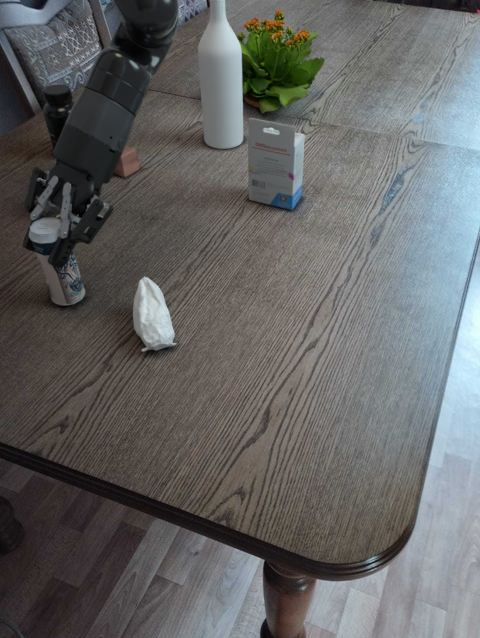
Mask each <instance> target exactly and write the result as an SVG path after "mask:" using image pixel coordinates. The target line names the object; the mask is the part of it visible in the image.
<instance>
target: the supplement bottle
mask: <svg viewBox="0 0 480 638" xmlns="http://www.w3.org/2000/svg"><path fill="white" fill-rule="evenodd" d="M42 91H43V96H44V100H45V104H44V106H43V108H42V113H43V118H44V120H45V124H46V128H47V131H48V135H49V138H50V142H51V146H52V149H53V151H54V148H55V146H56V144H57V141H58V139H59V137H60V135H61V132H62V130H63V127H64V125H65V123H66V120H67V118H68V116H69V113H70V111H71V109H72V107H73V104H74V102H75V101H76V100H74V97H73V96H74V95H73V94H72V90H71V87H70V86H69V85H67V84H62V83H59V84H58V83H55V84H51V85H48V86H46V87H44V88H43V90H42Z"/></svg>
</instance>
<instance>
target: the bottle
mask: <svg viewBox="0 0 480 638" xmlns="http://www.w3.org/2000/svg"><path fill="white" fill-rule="evenodd" d="M197 59H198V73H199V75H198V76H199V88H200V89H199V90H200V100H201V102H200V103H201V114H202V127H203V128H202V129H203V140H204V143H205V144H206V145H207V146H209V147H211V148H214V149H220V150H228V149H232V148H237V147H238V146H240V145H241V144H242V143H243V142H244V103H243V101H244V95H243V88H242V52H241V45H240V43H239V41H238V39H237V34H235V32H234V30H233V28H232V26H231V25H230V23H229V21H228V19H227V10H226V0H209V21H208V23H207V26H206V27H205V29H204V31H203V33H202V35H201V38H200V41H199V42H198V46H197Z"/></svg>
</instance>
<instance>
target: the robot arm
mask: <svg viewBox="0 0 480 638" xmlns="http://www.w3.org/2000/svg"><path fill="white" fill-rule="evenodd" d="M113 2H114V4H115V7H116V8H117V10H118V12H119V13H120V18H119V22H118V25H117V27H116V29H115V32H114V33H113V35H112V38H111V40H110V42H109V44H108V46H107V47H104V48H103V49H101V50H100V51H99V53H98V54H97V56H96V58H95V60H94V62H93V64H92V66H91V68H90V70H89V73H88V74H87V77H86V79H85V81H84V85H83V87H82V89H81V91H80V93H79V94H78V96H77V97H76V99H75V100H74V101H75V102H74V104H73V107H72V109H71V111H70V113H69V116H68V118H67V120H66V123H65V125H64V127H63V130H62V132H61V135H60V137H59V139H58V141H57V144H56V146H55V148H54V150H53V151H52V156H53V158H54V159H56V162H55V164H54V165H53V167H51V169H50V170H44V169H42V168H41V167H39V166H35V167H34V168H33V169H32V172H31V176H30V181H29V185H28V189H27V193H26V197H25V202H24V205H23V209H24V211H26V212H28V214H29V215H30V216H29V217H30V218H29V219H30V223H29V225H28V228H27V230H26V233H25V234H24V236H23V242H22V247H23V248H24V249H25V250H27V251H29V252H34V253H36V252H35V249H34V247H33V244H32V241H31V239H30V238H29V231H30V226H31V225H32V224H33V223H34V222H35V221H37V220H39V219H42V218H50V217H53V218H55V217H56V216H57V215H60V217H59V218H60V219H61V222H62V227H61V233H60V236H61V237H58V238H57V240H56V242H55V245H54V247H53V249H52V251H51V254H50V256H49V258H48V263H49V264H50V265H52V266H55V267H58V268H63V267H64V265H66V264H67V262H68V260H69V258H70V255H71V253H72V251H73V252H74V249H75V246H76V245H77V244H80V243H82V244H86V245H90V244H91V243H92V242H93V241H94V240H95V237H96V236H97V235H98V233H99V232H100V230H101V229H102V228H103V226H104V225H105V223H106V222H107V221H108V219H109V218H110V216H111V215H112V214H113V212H114V206H113V205H112V204H109V203H108V202H106V201H105V200H104V199H103V198H102V197H101V194H102V187H103V185H104V184H109V183H110V182H111V179H112V178H113V175H114V171H115V169H116V166H117V164H118V162H119V160H120V157H121V155H122V153H123V151H124V148H125V146H127V144H128V141H129V140H130V137H131V134H132V131H133V127H134V125H135V121H136V118H137V116H138V114H139V111H140V109H141V107H142V105H143V103H144V100H145V98H146V96H147V94H148V91H149V87H150V85H151V82H152V80H153V78H154V76H155V75H156V74H157V72H158V70H159V69H160V67H161V66H162V64H163V62H164V60H165V58H166V57H167V55H168V53H169V52H170V49H171V47H172V45H173V42H174V40H175V38H176V35H177V33H178V28H179V0H113ZM36 196H38V197H39V198H38V201H37V204H35V202H36V199H37V198H36ZM49 200H50V201H51V202H50V201H49ZM46 210H49V211H48V212H47V213H45V211H46ZM72 224H73V225H72ZM72 226H73V229H72Z"/></svg>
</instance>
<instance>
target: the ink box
mask: <svg viewBox="0 0 480 638" xmlns="http://www.w3.org/2000/svg"><path fill="white" fill-rule="evenodd" d="M247 124H248V135H247V162H248V163H247V164H248V166H247V167H248V172H247V173H248V200H249V201H252V202H257V203H260V204H264V205H268V206H269V205H270V206H273V207H276V208H281V209H285V210H290V211H293V209H294V208H295V207H296V206H297V204H298V202H299V201H300V200H301V198H302V196H303V195H302V193H303V175H304V158H305V140H306V134H305V133H300V132H296V131H297V130H296V126H295V125H289V124H285V123H284V124H283V123H280V122H274V121H270V120H263V119H258V118H253V117H249V118H248V120H247Z"/></svg>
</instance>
